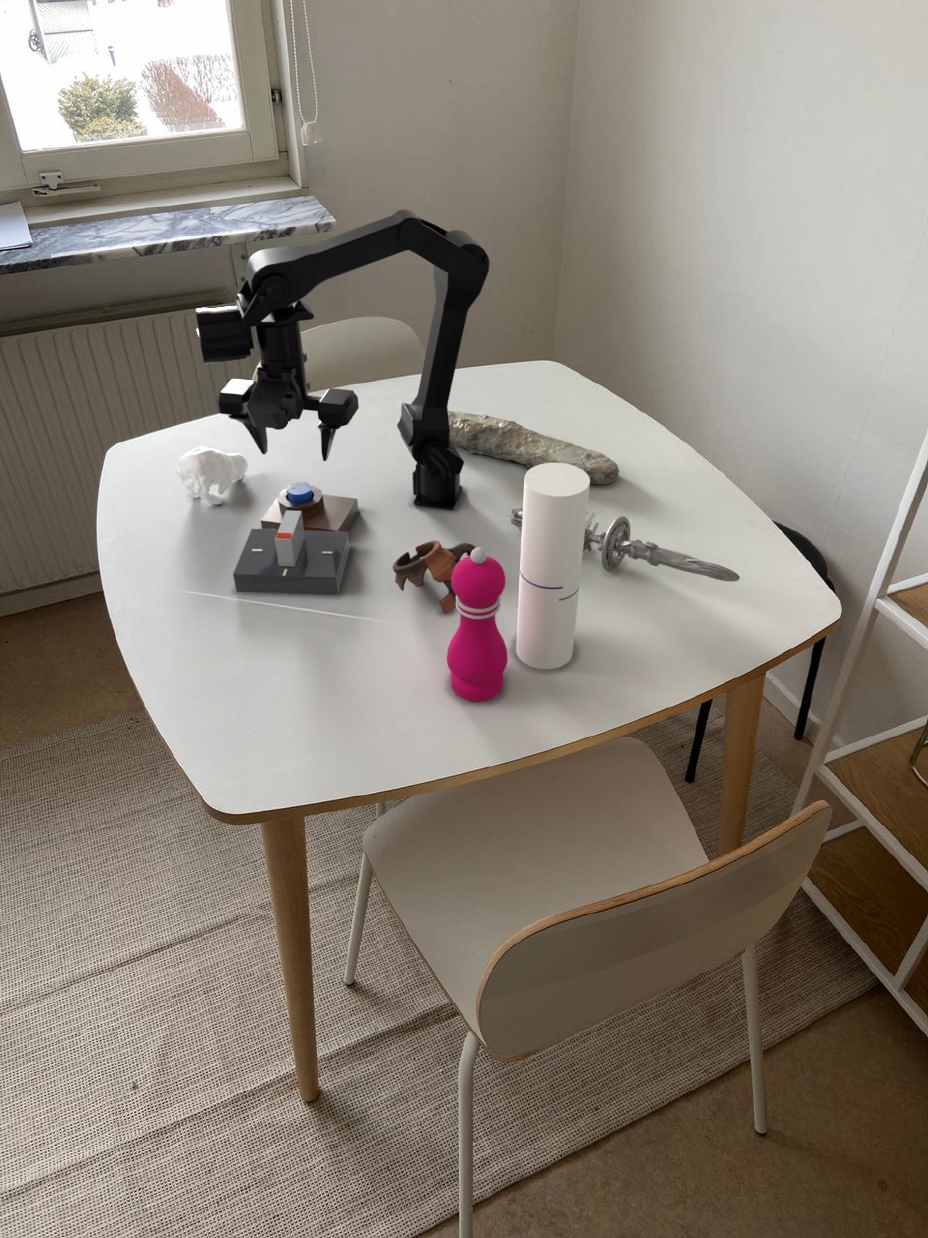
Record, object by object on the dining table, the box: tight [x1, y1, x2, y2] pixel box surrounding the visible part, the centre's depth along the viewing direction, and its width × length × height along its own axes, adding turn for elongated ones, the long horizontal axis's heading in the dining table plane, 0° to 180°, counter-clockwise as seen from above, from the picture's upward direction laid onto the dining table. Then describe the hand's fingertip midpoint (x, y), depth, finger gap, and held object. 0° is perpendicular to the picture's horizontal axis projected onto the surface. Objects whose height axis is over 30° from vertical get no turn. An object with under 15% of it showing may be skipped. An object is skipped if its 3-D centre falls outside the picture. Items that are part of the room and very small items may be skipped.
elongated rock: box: [448, 410, 620, 485], centre depth 154 cm, size 35×5×10 cm
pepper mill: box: [446, 547, 509, 703], centre depth 106 cm, size 7×7×20 cm
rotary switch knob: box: [275, 510, 305, 567], centre depth 127 cm, size 7×2×5 cm, turn 176°
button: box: [286, 481, 313, 504], centre depth 137 cm, size 4×4×2 cm
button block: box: [260, 484, 359, 532], centre depth 138 cm, size 12×9×4 cm
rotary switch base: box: [232, 528, 351, 596], centre depth 129 cm, size 14×11×3 cm
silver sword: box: [509, 506, 741, 582], centre depth 128 cm, size 8×35×8 cm
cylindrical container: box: [515, 463, 591, 670], centre depth 109 cm, size 7×7×25 cm
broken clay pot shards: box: [392, 540, 477, 614], centre depth 125 cm, size 12×10×8 cm
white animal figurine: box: [175, 446, 249, 506], centre depth 144 cm, size 6×8×12 cm
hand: (295, 456), depth 133 cm, fingers open, 9 cm apart
